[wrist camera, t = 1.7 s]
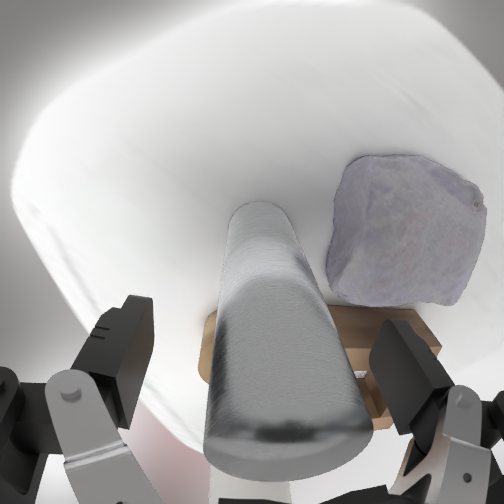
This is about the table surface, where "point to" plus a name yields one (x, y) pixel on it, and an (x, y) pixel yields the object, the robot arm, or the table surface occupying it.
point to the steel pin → (278, 362)
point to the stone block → (404, 232)
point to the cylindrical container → (245, 488)
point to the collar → (361, 342)
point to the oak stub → (207, 347)
